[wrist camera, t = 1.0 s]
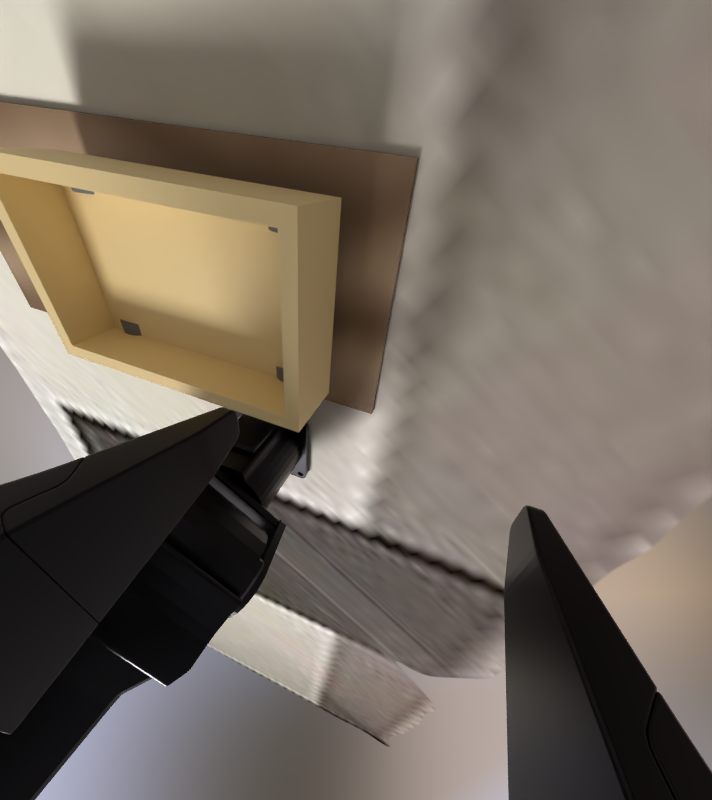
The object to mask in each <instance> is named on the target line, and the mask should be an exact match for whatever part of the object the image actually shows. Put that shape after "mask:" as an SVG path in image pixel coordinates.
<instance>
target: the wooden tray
mask: <svg viewBox="0 0 712 800" xmlns="http://www.w3.org/2000/svg"><path fill="white" fill-rule="evenodd" d="M341 199H342V198H341V197H335V196H329V195H323V194H317V193H311V192H305V191H299V190H293V189H287V188H282V187H276V186H270V185H264V184H258V183H252V182H246V181H240V180H234V179H228V178H222V177H216V176H210V175H204V174H199V173H193V172H187V171H181V170H175V169H169V168H163V167H157V166H151V165H145V164H139V163H133V162H127V161H121V160H116V159H110V158H104V157H98V156H92V155H86V154H80V153H74V152H68V151H62V150H54V149H29V148H4V147H0V220H1V222H2V224H3V226H4V228H5V230H6V232H7V234H8V236H9V238H10V240H11V242H12V244H13V245H14V247H15V249H16V251H17V253H18V255H19V257H20V259H21V261H22V263H23V265H24V267H25V269H26V271H27V273H28V275H29V277H30V279H31V281H32V283H33V285H34V287H35V289H36V291H37V293H38V295H39V297H40V299H41V301H42V303H43V305H44V306H45V308H46V310H47V312H48V314H49V316H50V318H51V320H52V322H53V324H54V326H55V328H56V330H57V332H58V334H59V336H60V338H61V340H62V342H63V344H64V346H65V348H66V350H67V352H68V354H71V355H74V356H77V357H80V358H83V359H86V360H89V361H92V362H95V363H97V364H100V365H103V366H106V367H109V368H112V369H115V370H118V371H121V372H124V373H127V374H130V375H132V376H135V377H138V378H141V379H144V380H147V381H150V382H153V383H156V384H159V385H162V386H164V387H167V388H170V389H173V390H176V391H179V392H182V393H185V394H188V395H191V396H194V397H197V398H199V399H202V400H205V401H208V402H211V403H214V404H217V405H220V406H223V407H226V408H229V409H231V410H234V411H237V412H240V413H243V414H246V415H249V416H252V417H255V418H258V419H261V420H263V421H266V422H269V423H272V424H275V425H278V426H281V427H284V428H287V429H290V430H293V431H296V432H298V433H299V432H300V430H301V429H302V428H303V426H304V425H305V424H306V423H307V421H308V420H309V419H310V417H311V416H312V415H313V413H314V412H315V411H316V409H317V408H318V407H319V405H320V404H321V403H322V401H323V400H324V399H325V397H326V396H327V395H328V393H329V382H330V367H331V352H332V336H333V321H334V306H335V291H336V275H337V260H338V245H339V230H340V214H341Z"/></svg>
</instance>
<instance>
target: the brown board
mask: <svg viewBox="0 0 712 800" xmlns="http://www.w3.org/2000/svg"><path fill="white" fill-rule="evenodd" d="M0 147H4V148H29V149H54V150H62V151H68V152H74V153H80V154H86V155H92V156H98V157H104V158H110V159H116V160H121V161H127V162H133V163H139V164H145V165H151V166H157V167H163V168H169V169H175V170H181V171H187V172H193V173H199V174H204V175H210V176H216V177H222V178H228V179H234V180H240V181H246V182H252V183H258V184H264V185H270V186H276V187H282V188H287V189H293V190H299V191H305V192H311V193H317V194H323V195H329V196H335V197H341V198H342V199H341V214H340V230H339V245H338V260H337V275H336V291H335V306H334V321H333V336H332V352H331V367H330V382H329V393H328V395H327V396H326V397H325V399H326V400H329V401H332V402H335V403H338V404H342V405H345V406H348V407H351V408H354V409H357V410H361V411H364V412H367V413H370V414H372V412H373V408H374V403H375V397H376V392H377V386H378V380H379V375H380V369H381V364H382V358H383V353H384V347H385V341H386V336H387V330H388V325H389V319H390V313H391V308H392V302H393V297H394V291H395V285H396V280H397V274H398V269H399V263H400V258H401V252H402V246H403V241H404V235H405V230H406V224H407V218H408V213H409V207H410V202H411V196H412V190H413V185H414V179H415V174H416V168H417V163H418V158H417V157H410V156H402V155H395V154H387V153H380V152H372V151H365V150H357V149H350V148H342V147H335V146H327V145H320V144H312V143H305V142H297V141H290V140H282V139H275V138H267V137H260V136H252V135H245V134H237V133H230V132H222V131H215V130H207V129H200V128H192V127H185V126H177V125H170V124H163V123H155V122H148V121H140V120H133V119H125V118H118V117H110V116H103V115H95V114H88V113H80V112H73V111H65V110H58V109H50V108H43V107H35V106H28V105H20V104H13V103H5V102H0ZM0 251H1V253H2V255H3V256H4V258H5V260H6V262H7V264H8V266H9V268H10V269H11V271H12V273H13V275H14V277H15V279H16V281H17V282H18V284H19V286H20V288H21V290H22V292H23V294H24V296H25V297H26V299H27V301H28V303H29V305H30V307H32V308H35V309H38V310H42V311H45V312H47V310H46V308H45V306H44V305H43V303H42V301H41V299H40V297H39V295H38V293H37V291H36V289H35V287H34V285H33V283H32V281H31V279H30V277H29V275H28V273H27V271H26V269H25V267H24V265H23V263H22V261H21V259H20V257H19V255H18V253H17V251H16V249H15V247H14V245H13V244H12V242H11V240H10V238H9V236H8V234H7V232H6V230H5V228H4V226H3V224H2V222H1V220H0Z"/></svg>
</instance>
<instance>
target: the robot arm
mask: <svg viewBox="0 0 712 800" xmlns="http://www.w3.org/2000/svg"><path fill="white" fill-rule="evenodd" d="M307 473H308V424H307V423H306V424H305V425H304V426H303V428H302V429H301V430H300V432H299V433H298V432H296V431H293V430H290V429H287V428H284V427H281V426H278V425H275V424H272V423H269V422H266V421H263V420H261V419H258V418H255V417H252V416H249V415H246V414H243V413H240V412H237V411H234V410H231V409H228V408H225V407H221V408H218V409H215V410H212V411H210V412H207V413H204V414H201V415H199V416H196V417H193V418H190V419H188V420H185V421H182V422H179V423H177V424H174V425H171V426H168V427H165V428H163V429H160V430H157V431H154V432H152V433H149V434H146V435H143V436H141V437H138V438H135V439H132V440H130V441H127V442H124V443H121V444H119V445H116V446H113V447H110V448H107V449H105V450H102V451H99V452H96V453H94V454H91V455H88V456H86V457H85V458H80V459H77V460H74V461H71V462H69V463H66V464H63V465H60V466H57V467H55V468H51V469H49V470H46V471H43V472H40V473H37V474H34V475H30V476H27V477H24V478H21V479H18V480H15V481H11V482H8V483H5V484H2V485H0V800H35V799H36V798H37V796H38V795H39V794H40V793H41V792H42V790H43V789H44V788H45V787H46V785H47V784H48V783H49V782H50V781H51V779H52V778H53V777H54V776H55V774H56V773H57V772H58V771H59V770H60V768H61V767H62V766H63V765H64V763H65V762H66V761H67V760H68V758H69V757H70V756H71V755H72V754H73V752H74V751H75V750H76V749H77V748H78V746H79V745H80V744H81V743H82V741H83V740H84V739H85V738H86V737H87V735H88V734H89V733H90V732H91V730H92V729H93V728H94V727H95V726H96V724H97V723H98V722H99V721H100V719H101V718H102V717H103V716H104V715H105V713H106V712H107V711H108V710H109V709H110V707H111V706H112V705H113V704H114V703H115V701H116V700H117V699H118V698H119V697H120V696H121V695H122V694H123V693H125V692H127V691H129V690H131V689H133V688H135V687H137V686H139V685H141V684H142V683H144V682H146V681H148V680H150V679H152V678H153V679H154V680H156V681H157V682H159V683H161V684H162V685H163V686H168V685H170V684H171V683H172V682H174V681H175V680H177V679H178V678H180V677H181V676H182V675H184V674H185V673H187V671H189V670H190V669H191V667H192V666H193V664H194V663H195V662H196V660H197V659H198V657H199V656H200V654H201V653H202V651H203V650H204V649H205V647H206V646H207V644H208V643H209V641H210V640H211V639H212V637H213V636H214V634H215V633H216V632H217V631H218V629H219V628H220V627H221V626H222V624H223V623H224V622H225V621H226V620H227V618H230V617H233V616H234V615H236V614H237V613H238V612H239V611H240V610H241V609H243V608H244V606H245V605H246V604H247V603H248V602H249V601H250V599H251V598H252V597H253V596H254V594H255V593H256V591H257V590H258V588H259V587H260V585H261V583H262V582H263V580H264V578H265V576H266V573H267V571H268V568H269V566H270V564H271V561H272V559H273V556H274V554H275V551H276V549H277V546H278V544H279V541H280V539H281V537H282V534H283V532H284V529H285V527H286V524H285V523H284V522H283V521H282V520H279V519H277V518H276V517H275V516H274V515H273V514H272V513H270V512H269V511H268V510H267V507H268V506H269V504H270V503H271V501H272V500H273V498H274V497H275V495H276V494H277V492H278V491H279V490H280V488H281V487H282V485H283V484H284V482H285V481H286V479H287V478H288V476H289V475H290V474H292V475H295V476H297V477H300V478H305V477H306V475H307ZM504 613H505V657H506V699H507V744H508V788H509V800H712V771H711V770H710V768H709V767H708V766H707V764H706V763H705V761H704V760H703V758H702V757H701V755H700V753H699V752H698V750H697V749H696V748H695V746H694V744H693V743H692V741H691V740H690V738H689V737H688V735H687V734H686V732H685V731H684V729H683V728H682V726H681V724H680V723H679V721H678V720H677V718H676V717H675V715H674V714H673V712H672V710H671V709H670V707H669V706H668V704H667V703H666V701H665V699H664V698H663V696H662V695H661V694H660V693H659V692H656V691H657V688H656V686H655V684H654V683H653V681H652V680H651V678H650V676H649V675H648V673H647V671H646V670H645V668H644V667H643V665H642V664H641V662H640V661H639V659H638V657H637V656H636V654H635V653H634V651H633V649H632V648H631V646H630V645H629V643H628V642H627V640H626V638H625V637H624V635H623V634H622V632H621V630H620V629H619V627H618V626H617V624H616V623H615V621H614V620H613V618H612V617H611V615H610V613H609V612H608V610H607V609H606V607H605V605H604V604H603V602H602V601H601V599H600V598H599V596H598V594H597V593H596V591H595V590H594V588H593V586H592V585H591V583H590V582H589V580H588V579H587V577H586V575H585V574H584V572H583V571H582V569H581V568H580V566H579V564H578V563H577V561H576V560H575V558H574V557H573V555H572V553H571V552H570V550H569V549H568V547H567V546H566V544H565V542H564V541H563V539H562V538H561V536H560V534H559V533H558V531H557V530H556V528H555V527H554V525H553V523H552V522H551V520H550V519H549V517H548V516H547V514H546V513H545V512H544V511H543V510H541V509H538V508H534V507H531V506H525V507H523V509H522V510H521V512H520V513H519V514H518V516H517V517H516V519H515V520H514V522H513V523H512V526H511V529H510V536H509V546H508V557H507V567H506V577H505V589H504Z"/></svg>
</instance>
